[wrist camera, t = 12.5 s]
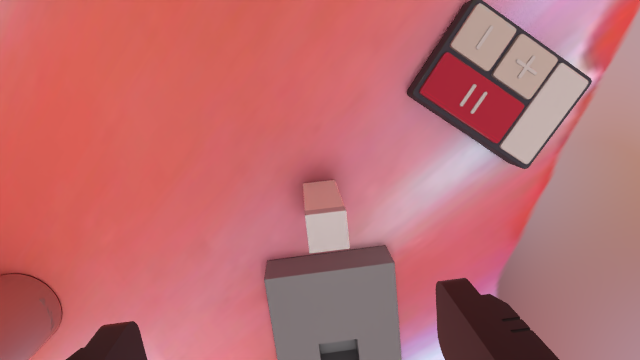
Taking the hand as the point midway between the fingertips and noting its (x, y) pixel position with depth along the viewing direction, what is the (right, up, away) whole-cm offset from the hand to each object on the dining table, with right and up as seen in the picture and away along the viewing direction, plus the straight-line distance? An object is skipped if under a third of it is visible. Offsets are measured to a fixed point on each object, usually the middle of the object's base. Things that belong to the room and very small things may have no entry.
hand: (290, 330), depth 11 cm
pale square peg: (+1, +2, +35) cm, 35 cm away
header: (+3, -15, +39) cm, 42 cm away
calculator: (+19, +14, +33) cm, 41 cm away
